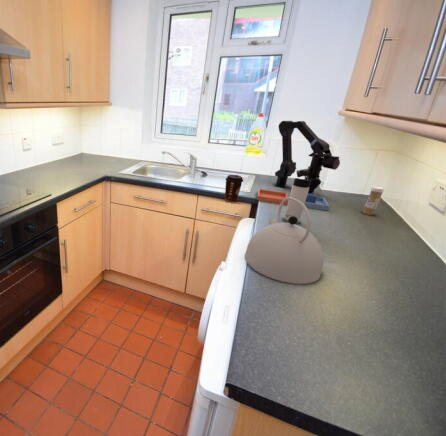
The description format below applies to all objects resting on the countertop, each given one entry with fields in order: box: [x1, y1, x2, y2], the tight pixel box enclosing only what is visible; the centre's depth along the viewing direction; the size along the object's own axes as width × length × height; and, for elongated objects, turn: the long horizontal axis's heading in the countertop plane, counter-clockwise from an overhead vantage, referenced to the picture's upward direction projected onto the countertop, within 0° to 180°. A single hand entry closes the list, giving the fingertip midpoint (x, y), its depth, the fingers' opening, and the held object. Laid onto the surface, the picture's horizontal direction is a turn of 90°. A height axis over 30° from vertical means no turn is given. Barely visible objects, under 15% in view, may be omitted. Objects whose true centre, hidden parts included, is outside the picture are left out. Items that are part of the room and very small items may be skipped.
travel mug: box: [283, 177, 311, 225], centre depth 130 cm, size 6×7×20 cm
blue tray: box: [304, 196, 330, 211], centre depth 156 cm, size 15×15×2 cm
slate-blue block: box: [305, 193, 318, 203], centre depth 155 cm, size 4×4×4 cm
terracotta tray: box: [256, 188, 289, 206], centre depth 162 cm, size 15×15×2 cm
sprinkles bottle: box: [362, 185, 385, 216], centre depth 142 cm, size 5×5×14 cm
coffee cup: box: [224, 174, 244, 203], centre depth 156 cm, size 9×8×13 cm
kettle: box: [244, 196, 325, 285], centre depth 96 cm, size 25×23×22 cm
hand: (308, 192), depth 171 cm, fingers open, 9 cm apart
